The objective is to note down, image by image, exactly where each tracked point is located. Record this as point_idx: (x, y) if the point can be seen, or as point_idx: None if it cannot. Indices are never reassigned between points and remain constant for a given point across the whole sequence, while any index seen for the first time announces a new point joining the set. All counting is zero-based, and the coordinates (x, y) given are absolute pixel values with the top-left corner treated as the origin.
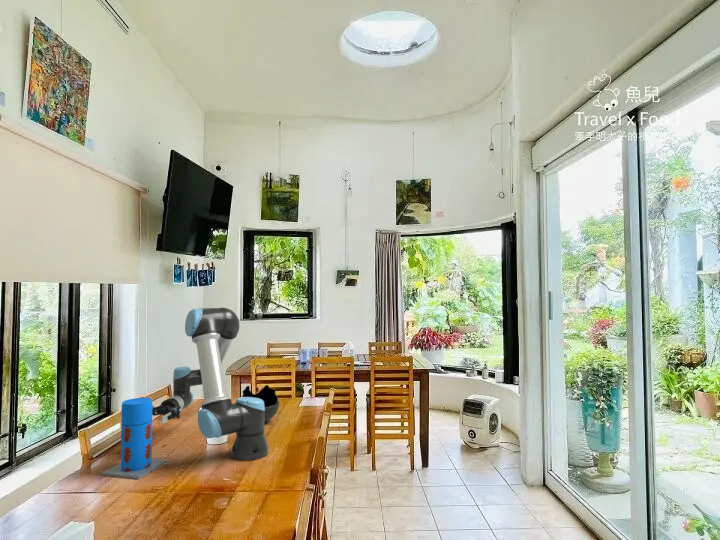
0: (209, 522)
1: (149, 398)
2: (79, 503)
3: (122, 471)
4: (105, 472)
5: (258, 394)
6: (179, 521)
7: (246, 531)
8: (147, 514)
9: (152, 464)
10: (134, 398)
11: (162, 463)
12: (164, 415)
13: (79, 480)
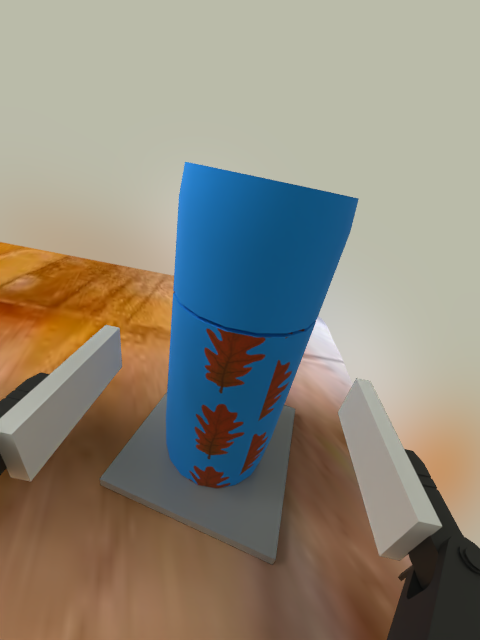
0: (63, 263)
1: (215, 168)
2: None
3: None
4: (286, 407)
5: None
6: (100, 272)
7: (26, 248)
8: (142, 288)
9: (160, 440)
10: (338, 194)
11: (123, 450)
12: (94, 350)
13: (327, 397)
